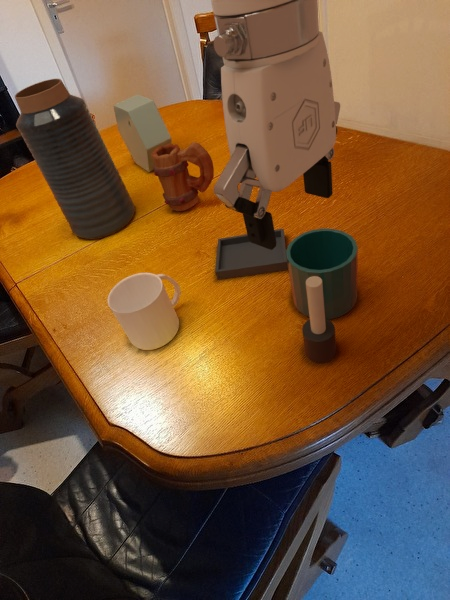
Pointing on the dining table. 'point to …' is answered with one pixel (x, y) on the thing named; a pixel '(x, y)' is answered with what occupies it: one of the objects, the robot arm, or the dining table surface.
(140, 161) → the pale green angular block
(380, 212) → the dining table surface
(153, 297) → the mug
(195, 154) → the mug
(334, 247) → the jar
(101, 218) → the vase
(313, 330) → the brush
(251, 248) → the tray
